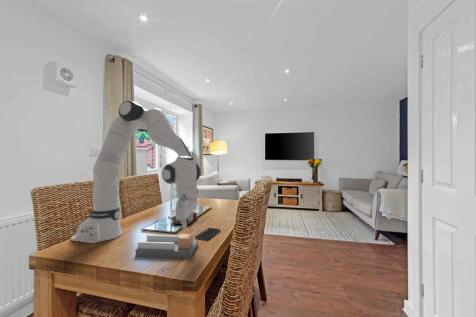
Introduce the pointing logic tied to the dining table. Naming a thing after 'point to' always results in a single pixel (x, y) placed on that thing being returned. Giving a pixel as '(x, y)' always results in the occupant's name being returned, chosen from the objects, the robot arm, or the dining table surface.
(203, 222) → the dining table surface
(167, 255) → the channel
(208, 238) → the phone
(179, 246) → the block
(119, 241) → the dining table surface
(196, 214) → the decorative book
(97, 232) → the robot arm
